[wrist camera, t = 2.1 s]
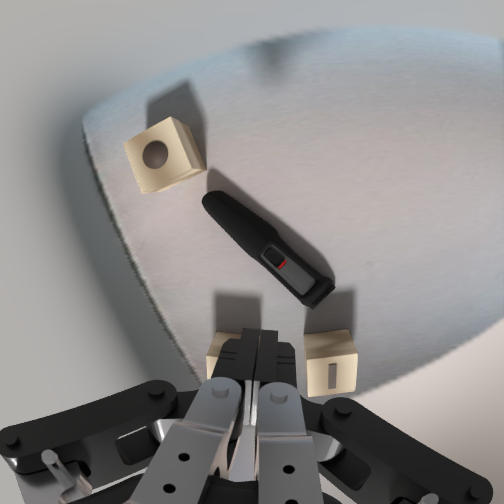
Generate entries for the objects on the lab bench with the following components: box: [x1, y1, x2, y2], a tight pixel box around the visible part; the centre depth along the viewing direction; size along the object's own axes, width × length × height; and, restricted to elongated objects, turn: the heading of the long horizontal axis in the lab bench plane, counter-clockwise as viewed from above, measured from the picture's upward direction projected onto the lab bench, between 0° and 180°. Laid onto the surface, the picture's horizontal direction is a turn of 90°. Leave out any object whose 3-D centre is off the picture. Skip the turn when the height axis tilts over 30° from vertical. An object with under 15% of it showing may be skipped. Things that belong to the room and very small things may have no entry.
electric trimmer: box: [202, 191, 335, 309], centre depth 27 cm, size 4×16×3 cm, turn 48°
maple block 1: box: [123, 116, 207, 194], centre depth 25 cm, size 5×5×5 cm
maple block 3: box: [304, 329, 358, 397], centre depth 28 cm, size 5×5×5 cm
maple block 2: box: [206, 332, 260, 379], centre depth 29 cm, size 5×5×5 cm
